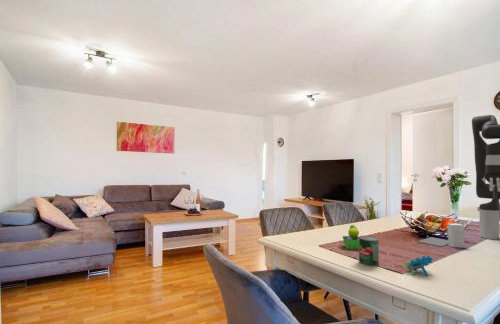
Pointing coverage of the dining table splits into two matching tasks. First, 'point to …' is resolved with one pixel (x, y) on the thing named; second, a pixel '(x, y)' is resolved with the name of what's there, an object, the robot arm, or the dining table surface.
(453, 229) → the skincare box
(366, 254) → the canned tomato
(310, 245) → the dining table surface
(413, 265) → the toy dinosaur
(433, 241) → the mat
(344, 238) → the fruit basket
